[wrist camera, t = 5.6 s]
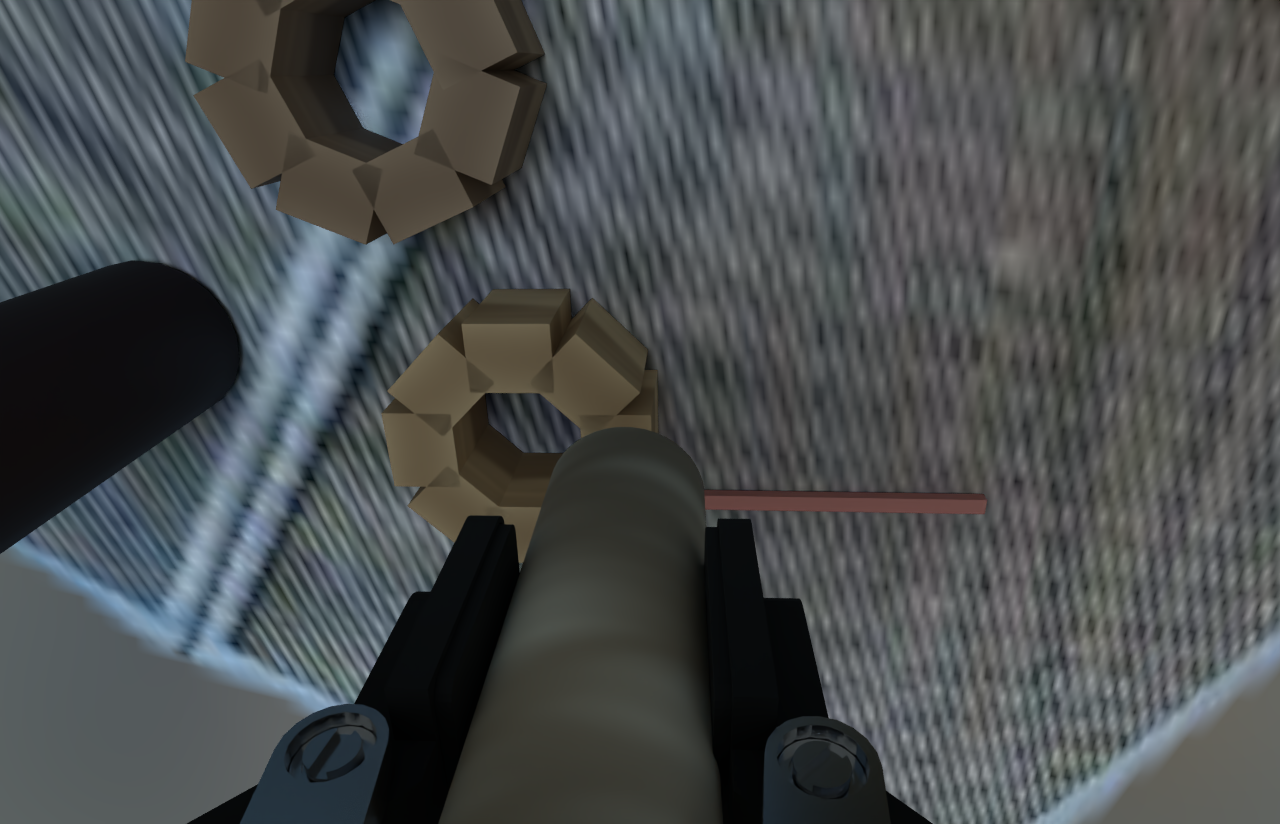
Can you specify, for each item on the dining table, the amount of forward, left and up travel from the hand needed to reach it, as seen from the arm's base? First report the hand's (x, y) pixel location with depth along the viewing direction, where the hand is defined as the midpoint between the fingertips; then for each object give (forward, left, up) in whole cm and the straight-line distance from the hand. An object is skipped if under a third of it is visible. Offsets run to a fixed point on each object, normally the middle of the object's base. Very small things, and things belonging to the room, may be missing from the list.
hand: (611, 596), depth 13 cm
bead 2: (+5, +5, -19) cm, 20 cm away
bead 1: (+9, -8, -19) cm, 23 cm away
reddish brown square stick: (-8, +9, -19) cm, 23 cm away
